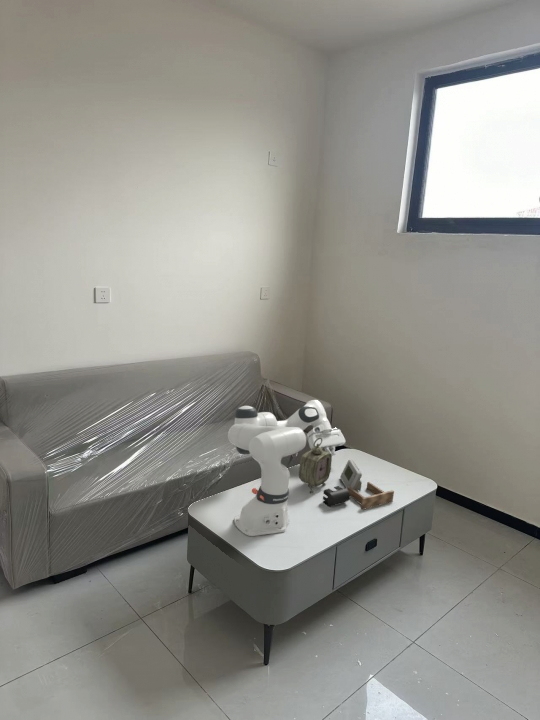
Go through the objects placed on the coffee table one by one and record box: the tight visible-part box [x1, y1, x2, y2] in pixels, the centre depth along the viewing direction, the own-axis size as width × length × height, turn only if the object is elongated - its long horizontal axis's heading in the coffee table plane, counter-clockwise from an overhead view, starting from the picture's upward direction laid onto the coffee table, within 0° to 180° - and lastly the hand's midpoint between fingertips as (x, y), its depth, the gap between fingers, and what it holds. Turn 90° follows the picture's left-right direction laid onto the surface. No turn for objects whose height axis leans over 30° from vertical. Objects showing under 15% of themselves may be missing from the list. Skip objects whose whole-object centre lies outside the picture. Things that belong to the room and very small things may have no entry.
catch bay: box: [347, 481, 395, 510], centre depth 228 cm, size 18×14×5 cm
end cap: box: [322, 485, 351, 508], centre depth 221 cm, size 10×7×7 cm
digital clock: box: [340, 458, 363, 492], centre depth 237 cm, size 16×9×11 cm, turn 176°
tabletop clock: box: [298, 438, 333, 495], centre depth 231 cm, size 14×9×25 cm, turn 143°
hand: (332, 455), depth 250 cm, fingers closed
